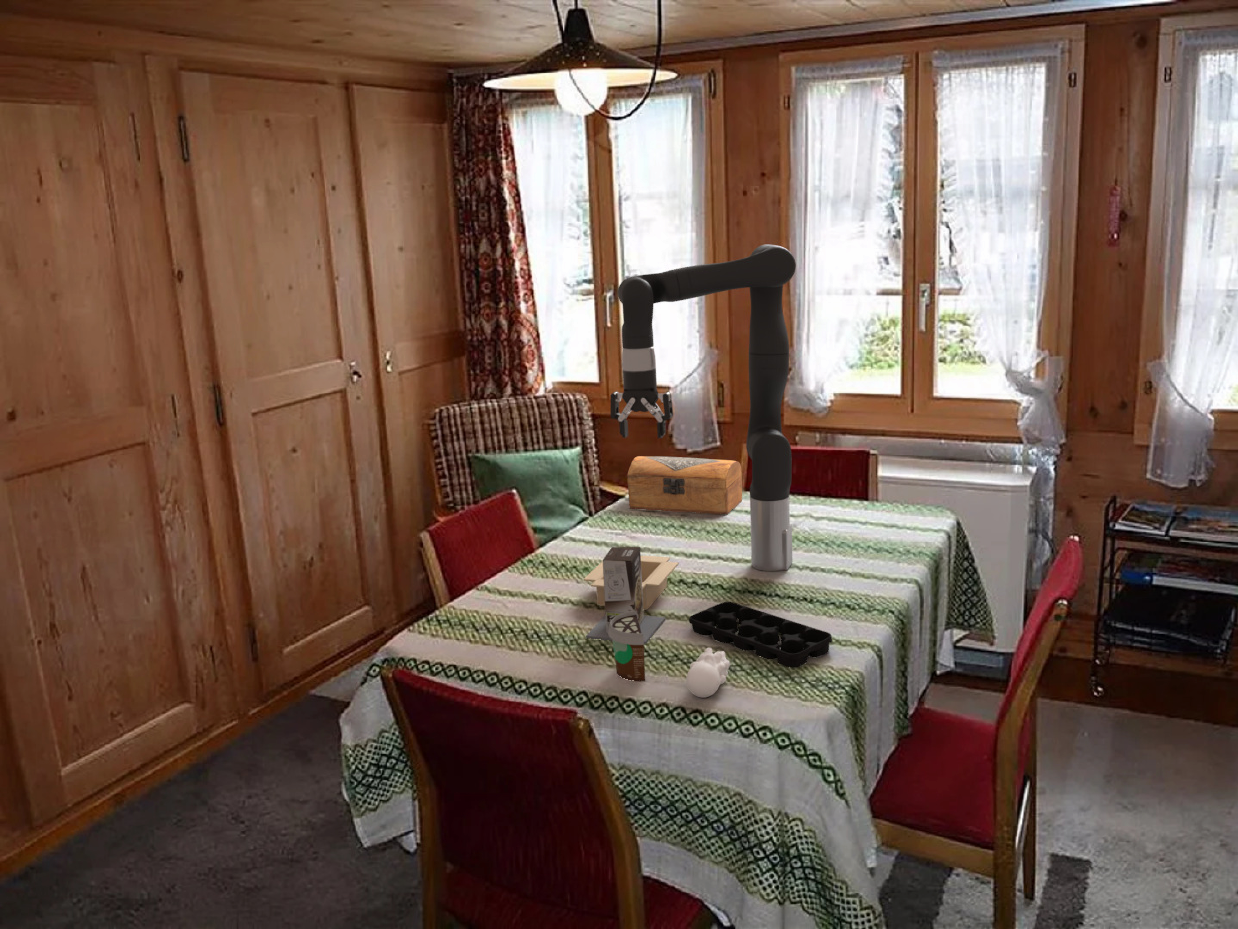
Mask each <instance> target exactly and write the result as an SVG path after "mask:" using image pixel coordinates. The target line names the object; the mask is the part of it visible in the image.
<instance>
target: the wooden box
mask: <svg viewBox="0 0 1238 929" xmlns="http://www.w3.org/2000/svg"><path fill="white" fill-rule="evenodd" d="M627 489H628V507H629V508H628V509H629V510H637V509H646V510H645V511H654V510H661V511H660V512H675V513H690V512H694V513H693V514H705V513H708V515H721V514H725V515H726V516H727V515H728V513H729V514H730V513H731V512H732V511H733V510H734V509H736V507H737V506H738V505H740V503H741V502H742V501H743V476H742V466H741V463H740V462H739V461H736V460H729V459H712V458H711V459H709V458H701V457H700V458H697V457H678V456H647V455H646V456H642V455H641V456H640V455H638V456H636V457H634V458H633V460H632V461H631V463H630V466H629V469H628V472H627ZM732 509H733V510H732ZM731 510H732V511H731ZM730 511H731V512H730ZM695 512H696V513H695ZM709 513H710V514H709Z"/></svg>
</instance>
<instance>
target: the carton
mask: <svg viewBox="0 0 1238 929" xmlns="http://www.w3.org/2000/svg"><path fill="white" fill-rule="evenodd" d="M670 559H671V557H669V556H655V555H654V556H653V555H641V574H642V593H643V610H646V611H647V610H648V609H649V608H650V607H651V606H652V605H653V604H654V602H655V601H657V599H658V598H659V597H660V595H661V594H662V593H663V592H664V591H665V590H666V589H667V587H668V577H669V576H670V575H671V574H672V573H673V571H674V570H676V568H677V567H678V566H679V562H676V561H675V562H674V561H670ZM583 581H584V582H592V583H591V584H590V587H592V588H596V599H597V604H596V605H597V606H598V605H600V607H605V595H604V577H603V560H601V562H600V563H599V564H598V565H597V566H595V568H593V569H592V570H591V571H590V572H589V573H588V574H587V575H586V576H585V577H584V578H583ZM664 589H665V590H664ZM601 605H602V606H601Z"/></svg>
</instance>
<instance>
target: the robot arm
mask: <svg viewBox="0 0 1238 929" xmlns="http://www.w3.org/2000/svg"><path fill="white" fill-rule="evenodd" d="M796 268H797V263H796V259H795V257H794V255H793V253H792V252H791V251H790V250H789V249H787V248H785V247H783V246H780V245H775V244H768V243H767V244H762V245H760V246H758V247H756V248H755V249H754V250H753V251H752V253H750V255H749V256H746V257H742V258H740V259H735V260H730V261H724V262H715V263H704V264H696V265H690V266H689V265H688V266H684V267H679V268H675V269H674V268H673V269H670V270H666V271H663V272H658V273H648V274H639V275H635V276H634V275H633V276H629V277H626V278H625V279H623V280H622V281H621V283H620V284H619V286H618V289H617V297H618V299H619V302H620V303H621V304H622V313H623V314H622V316H623V323H622V326H621V342H622V344H621V345H622V352H621V368H622V383H623V384H622V385H623V392H619V391H613V392H612V393H611V394H610V418H611V419H612V420H617V421H618V425H619V434H620V436H621V438H624V439H625V438H626V439H627V437H629V426H628V425H629V424H628V422H629V420H627V418H628V416H629V415H630V414H631V412H634V413H638V412H642V413H647V412H649V413H650V414H651V416H653V417H654V418H655V419H656V421H657V422H656V426H657V427H656V428H657V430H656V431H657V439H662V438H663V437H664V436H665V435H666V431H667V429H666V421H667V420H669V421H670V419H671V418H673V417H674V412H673V411H674V410H673V402H672V401H673V400H672V393H671V392H670V391H667V392H664V393H663V392H661V393H659V392H658V386H657V365H656V353H655V348H654V347H655V346H654V330H653V320H654V319H653V318H654V304H659V303H665V302H666V303H674V302H680V301H686V300H691V299H694V298H699V297H703V296H708V295H712V294H716V293H721V292H726V291H732V290H738V289H745V288H749V295H750V318H749V319H750V320H749V333H748V334H749V338H748V340H749V342H748V392H749V417H748V418H749V419H748V427H747V436H746V451H747V455H748V456H749V458H750V460H751V466H752V467H751V468H752V469H751V476H752V478H751V484H750V486H749V506H750V507H749V508H750V509H749V510H750V513H749V515H750V546H751V548H750V549H751V551H750V552H751V553H750V554H751V566H752V567H753V568H754V569H756V570H759V571H764V572H765V571H766V572H767V571H768V572H777V571H783V570H784V571H788V570H789V569H790V567H791V564H793V526H792V524H791V523H790V519H791V518H790V517H791V516H790V488H791V486H792V469H793V468H792V466H793V465H792V460H793V459H792V447H791V443H790V442H789V439H787V437H785V436H784V434H783V430H782V416H781V415H782V403H783V402H782V400H783V397H784V394H785V390H786V386H787V382H788V378H789V371H790V369H789V368H790V342H789V336H788V330H787V326H786V322H785V317H784V313H783V312H784V311H783V288H784V285H786V284H787V283H788V282H790V281H791V279H793V276H794V275H795V272H796ZM622 400H623V401H624V402H625V403H626V405H625V407H624V408H623V410H622V412H621V413H620V402H621V401H622ZM658 400H660V403H663V411H664V412H663V411H662V410H661V408H660V406H659V405H658V403H657V401H658Z"/></svg>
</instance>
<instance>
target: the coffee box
mask: <svg viewBox="0 0 1238 929" xmlns="http://www.w3.org/2000/svg"><path fill="white" fill-rule="evenodd" d="M641 556H642V555H641V547H640V546H611V548H610V549H609V550H608V552H607V553H606V555H605V556H604V558H603V559H602V561H603V577H604V595H605V606H604V609H605V612H604V613H605V615H606V632H607V633H608V631H609V625H610V623H611V620H612V619H613V618H614V617H616V616H618V615H620V614H622V613H626V612H630V611H637V618H638V622H639V625H640V624H641V623H642V621H643V619H644V616H645V613H644V609H643V593H642V574H641Z"/></svg>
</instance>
